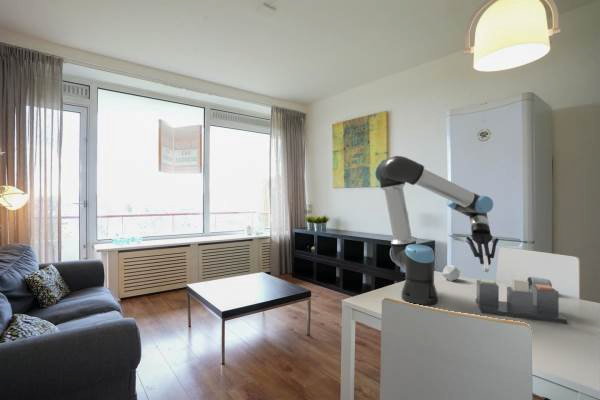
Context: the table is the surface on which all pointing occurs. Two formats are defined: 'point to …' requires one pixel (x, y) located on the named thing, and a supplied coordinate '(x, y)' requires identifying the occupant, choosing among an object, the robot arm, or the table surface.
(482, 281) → the sage button
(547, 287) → the terracotta button
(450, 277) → the crumpled paper ball
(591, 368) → the table surface
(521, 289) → the ivory button
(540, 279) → the ceramic mug
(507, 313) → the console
